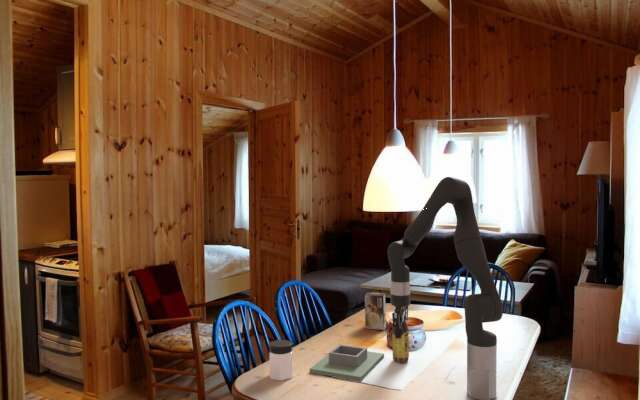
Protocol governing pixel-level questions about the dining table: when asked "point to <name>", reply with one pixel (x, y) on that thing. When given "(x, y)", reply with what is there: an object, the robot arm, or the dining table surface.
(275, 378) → the jar
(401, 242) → the robot arm
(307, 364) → the dining table surface
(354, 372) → the deck plate
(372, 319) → the coffee box
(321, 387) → the dining table surface
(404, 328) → the sauce bottle
